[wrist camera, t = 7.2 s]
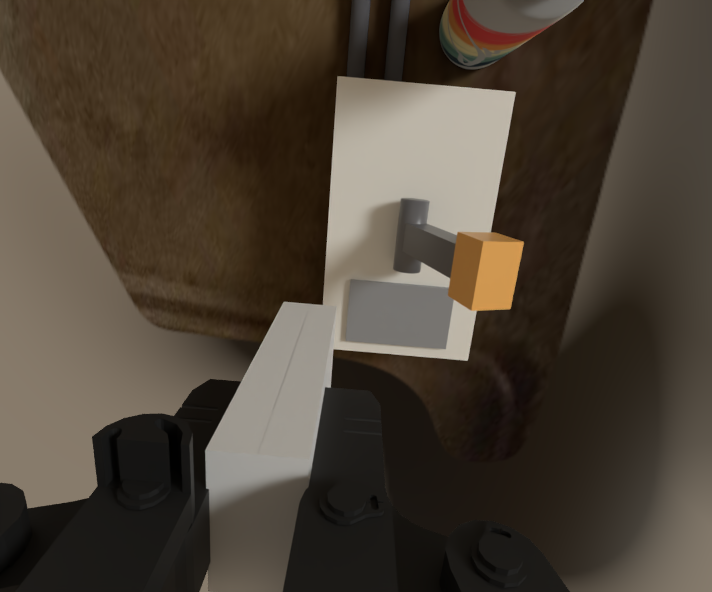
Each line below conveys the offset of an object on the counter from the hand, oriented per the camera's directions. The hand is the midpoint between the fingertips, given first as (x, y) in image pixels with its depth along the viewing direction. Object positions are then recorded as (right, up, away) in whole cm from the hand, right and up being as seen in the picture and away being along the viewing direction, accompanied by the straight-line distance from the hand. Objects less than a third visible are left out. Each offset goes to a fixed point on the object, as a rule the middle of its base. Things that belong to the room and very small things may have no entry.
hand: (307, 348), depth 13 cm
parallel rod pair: (+3, +22, +22) cm, 32 cm away
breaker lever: (+5, +6, +20) cm, 21 cm away
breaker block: (+5, +8, +27) cm, 29 cm away
